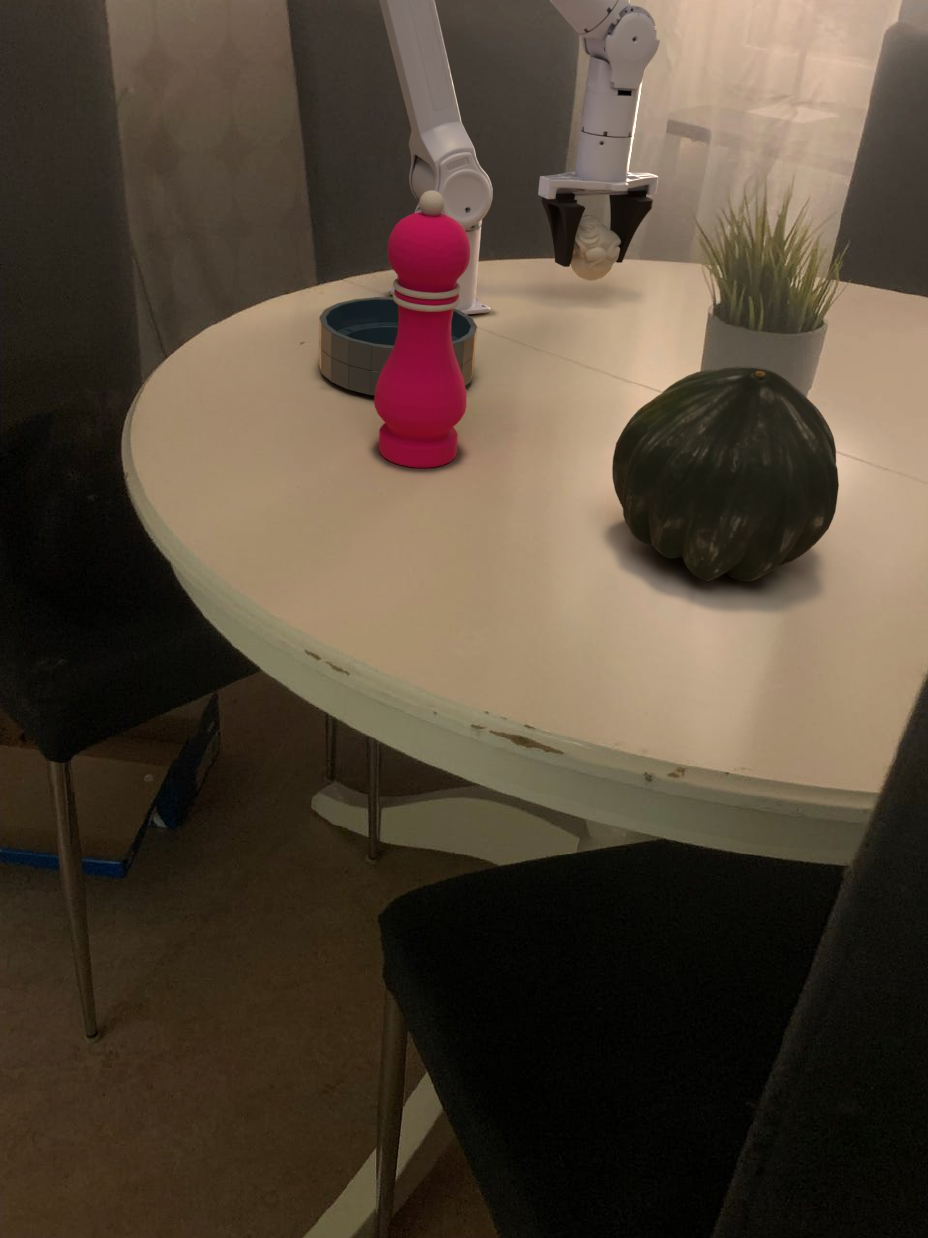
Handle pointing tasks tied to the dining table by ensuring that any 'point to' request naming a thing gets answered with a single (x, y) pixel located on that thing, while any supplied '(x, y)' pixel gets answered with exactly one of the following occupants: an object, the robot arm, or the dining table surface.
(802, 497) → the squash
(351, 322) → the bowl
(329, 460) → the dining table surface
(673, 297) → the dining table surface
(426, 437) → the pepper mill
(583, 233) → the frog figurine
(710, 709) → the dining table surface
